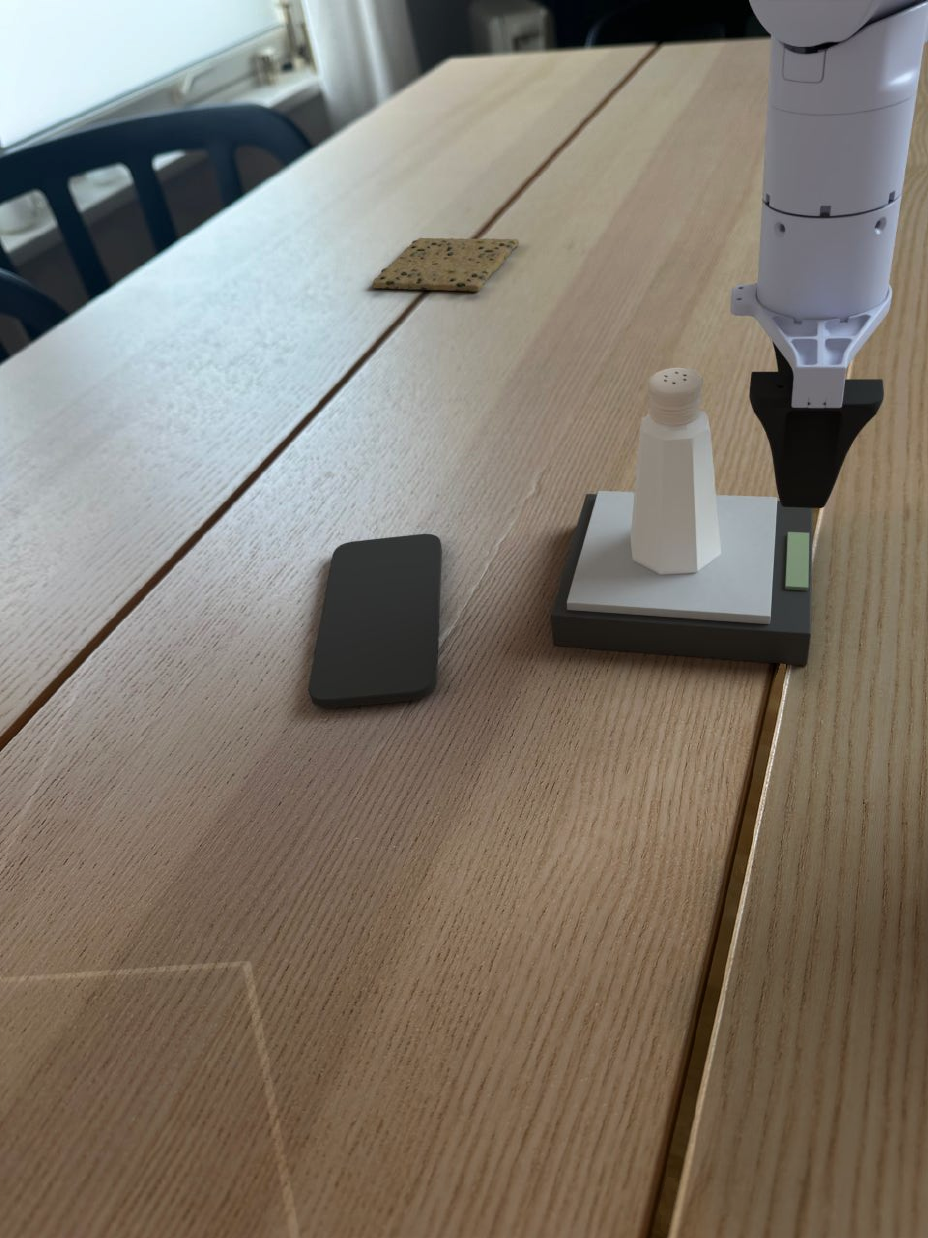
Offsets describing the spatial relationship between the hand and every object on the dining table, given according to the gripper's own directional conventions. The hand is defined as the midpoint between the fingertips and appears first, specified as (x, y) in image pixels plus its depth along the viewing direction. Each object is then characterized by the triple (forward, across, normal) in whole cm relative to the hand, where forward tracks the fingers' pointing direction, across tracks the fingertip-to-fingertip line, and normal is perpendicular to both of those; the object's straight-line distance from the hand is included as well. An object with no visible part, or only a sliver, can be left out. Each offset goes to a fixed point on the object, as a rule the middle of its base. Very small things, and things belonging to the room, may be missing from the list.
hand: (803, 460), depth 51 cm
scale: (+9, 0, -6) cm, 11 cm away
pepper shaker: (+6, 0, -7) cm, 9 cm away
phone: (+9, +5, -24) cm, 26 cm away
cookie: (+9, -49, -35) cm, 61 cm away
